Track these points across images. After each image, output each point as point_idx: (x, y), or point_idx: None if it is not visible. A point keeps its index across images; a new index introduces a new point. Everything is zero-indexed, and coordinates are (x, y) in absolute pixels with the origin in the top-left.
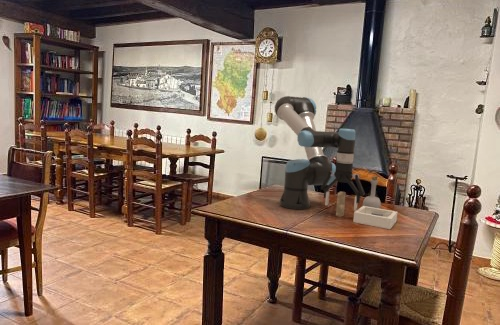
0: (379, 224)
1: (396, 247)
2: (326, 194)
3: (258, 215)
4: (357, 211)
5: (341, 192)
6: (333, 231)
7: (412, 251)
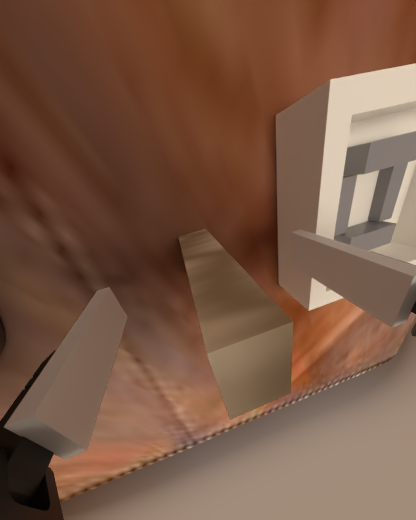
0: None
1: (380, 341)
2: (87, 412)
3: None
4: (318, 287)
5: (250, 377)
6: None
7: (402, 333)
